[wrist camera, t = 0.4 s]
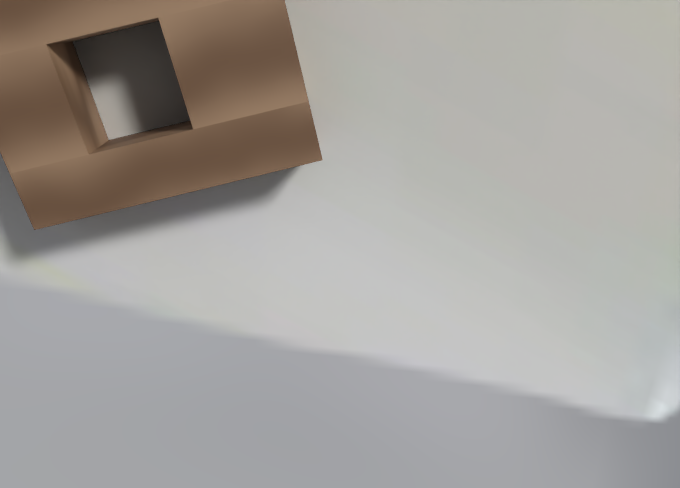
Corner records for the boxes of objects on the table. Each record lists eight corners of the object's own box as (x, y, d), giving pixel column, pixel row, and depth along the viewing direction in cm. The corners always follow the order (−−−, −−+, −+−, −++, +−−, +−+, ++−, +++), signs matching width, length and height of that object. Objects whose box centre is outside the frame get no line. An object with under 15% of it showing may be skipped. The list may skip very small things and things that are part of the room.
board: (-54, -64, 31) (-100, -76, 27) (250, -137, 31) (246, -158, 27) (59, 208, 36) (34, 229, 32) (317, 145, 36) (322, 159, 33)
